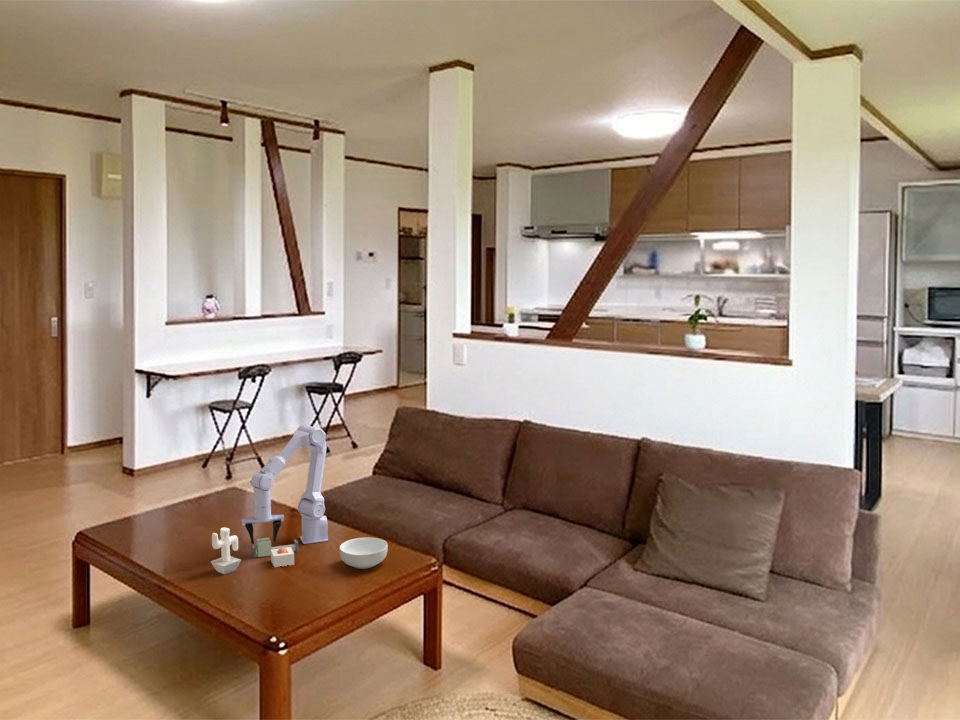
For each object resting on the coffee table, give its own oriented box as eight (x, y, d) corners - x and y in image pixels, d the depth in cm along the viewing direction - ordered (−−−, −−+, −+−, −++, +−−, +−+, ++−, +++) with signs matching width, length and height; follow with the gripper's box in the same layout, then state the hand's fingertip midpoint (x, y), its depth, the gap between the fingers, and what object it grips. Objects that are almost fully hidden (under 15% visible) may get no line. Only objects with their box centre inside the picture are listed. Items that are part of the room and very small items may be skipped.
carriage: (269, 551, 285) (269, 537, 284) (271, 555, 280) (271, 541, 280) (256, 552, 283) (256, 539, 282) (258, 557, 278) (257, 543, 278)
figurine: (244, 569, 268) (243, 527, 266) (220, 577, 260) (219, 534, 258) (231, 564, 272) (230, 522, 270) (207, 572, 264) (206, 529, 263)
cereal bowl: (341, 556, 280) (341, 537, 279) (387, 555, 282) (387, 536, 281) (338, 574, 263) (337, 554, 262) (387, 573, 265) (387, 553, 264)
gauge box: (291, 557, 278) (290, 547, 278) (294, 564, 272) (294, 553, 271) (271, 560, 276) (270, 549, 275) (273, 567, 269) (273, 556, 269)
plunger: (286, 559, 276) (285, 547, 275) (287, 562, 273) (287, 550, 273) (277, 560, 274) (277, 549, 274) (279, 563, 272) (278, 551, 271)
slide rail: (296, 548, 288) (296, 539, 288) (298, 551, 284) (298, 542, 284) (251, 554, 282) (251, 544, 281) (253, 558, 278) (253, 548, 278)
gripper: (281, 500, 286) (282, 536, 287) (240, 504, 280) (241, 541, 282) (284, 505, 279) (285, 542, 281) (242, 510, 274) (243, 547, 275)
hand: (263, 542), depth 281 cm, fingers open, 7 cm apart
